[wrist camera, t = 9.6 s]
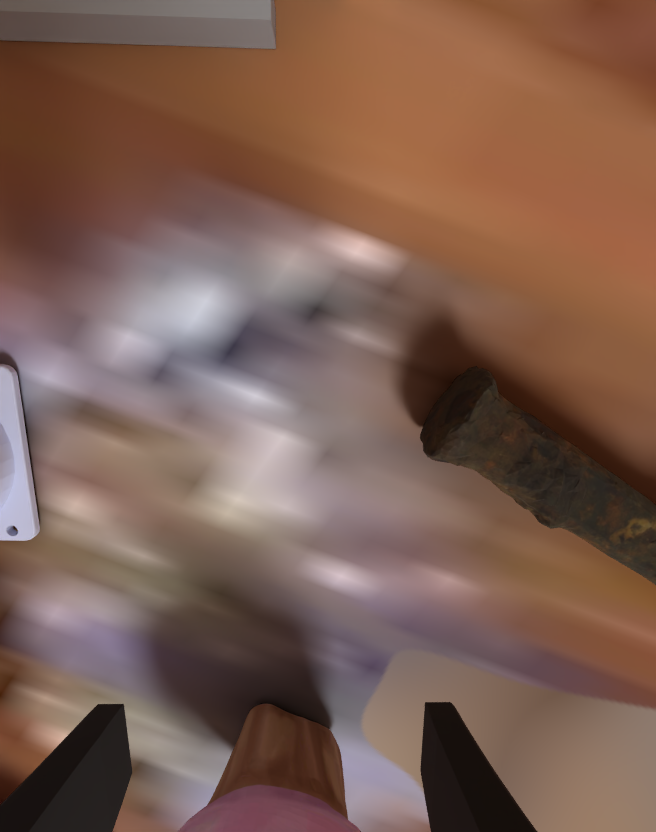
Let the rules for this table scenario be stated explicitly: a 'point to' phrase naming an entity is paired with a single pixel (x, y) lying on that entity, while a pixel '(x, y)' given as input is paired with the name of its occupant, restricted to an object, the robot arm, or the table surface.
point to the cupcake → (278, 779)
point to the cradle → (142, 22)
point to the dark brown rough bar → (540, 470)
